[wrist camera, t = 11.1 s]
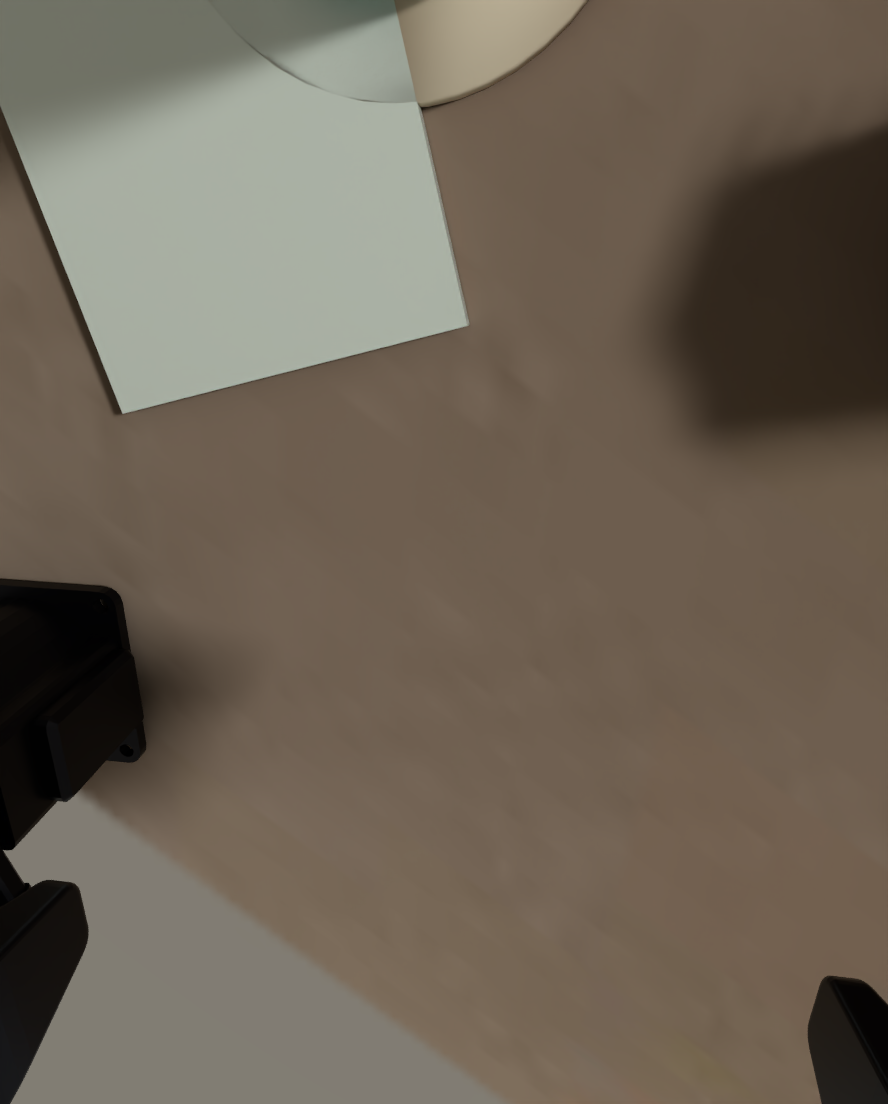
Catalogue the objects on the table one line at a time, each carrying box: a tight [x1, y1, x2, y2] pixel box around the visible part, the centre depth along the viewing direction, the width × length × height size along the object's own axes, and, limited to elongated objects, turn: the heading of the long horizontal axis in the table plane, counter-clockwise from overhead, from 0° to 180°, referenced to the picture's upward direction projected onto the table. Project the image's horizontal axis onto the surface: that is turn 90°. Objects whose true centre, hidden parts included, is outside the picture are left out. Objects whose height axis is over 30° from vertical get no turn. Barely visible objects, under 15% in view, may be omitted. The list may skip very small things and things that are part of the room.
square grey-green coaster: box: [0, 0, 470, 414], centre depth 17 cm, size 10×10×1 cm
